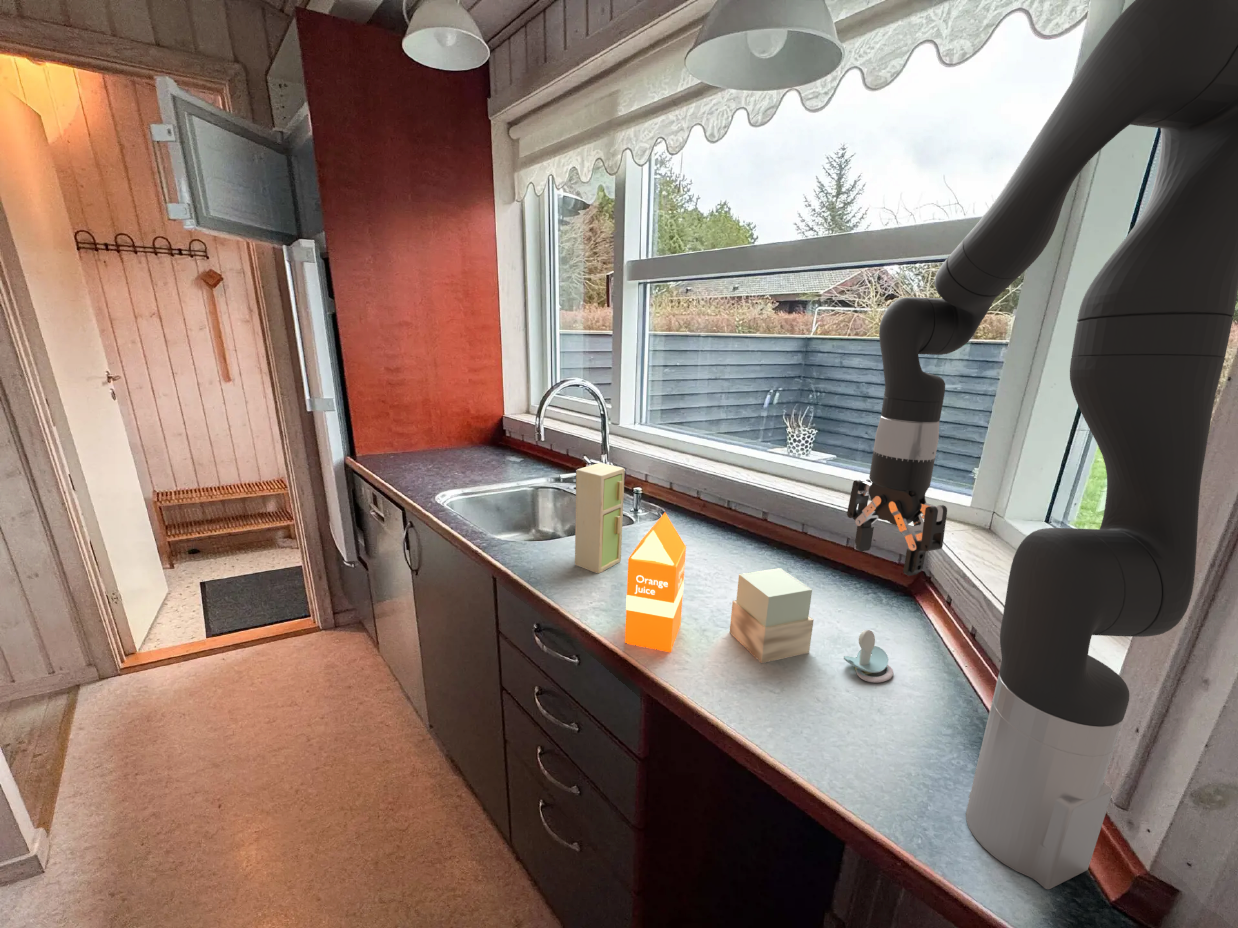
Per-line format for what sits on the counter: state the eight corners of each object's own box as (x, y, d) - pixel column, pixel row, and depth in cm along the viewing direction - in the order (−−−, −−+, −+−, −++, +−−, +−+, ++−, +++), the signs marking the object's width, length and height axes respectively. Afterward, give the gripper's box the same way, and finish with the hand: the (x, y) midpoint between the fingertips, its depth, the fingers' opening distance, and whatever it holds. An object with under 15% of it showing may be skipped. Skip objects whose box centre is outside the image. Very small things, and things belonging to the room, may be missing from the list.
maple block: (808, 653, 86) (813, 619, 84) (761, 664, 83) (765, 629, 81) (774, 624, 94) (777, 593, 92) (729, 633, 91) (732, 600, 89)
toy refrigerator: (601, 575, 110) (603, 475, 104) (573, 565, 114) (575, 469, 109) (624, 562, 116) (628, 468, 111) (597, 553, 120) (600, 462, 115)
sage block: (808, 618, 85) (812, 589, 83) (765, 626, 82) (768, 597, 81) (776, 594, 92) (779, 567, 91) (736, 601, 89) (738, 574, 88)
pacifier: (901, 676, 81) (866, 654, 86) (910, 639, 79) (873, 619, 84) (871, 691, 77) (836, 667, 82) (879, 653, 76) (843, 631, 81)
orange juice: (681, 624, 93) (689, 514, 88) (671, 652, 84) (679, 533, 79) (637, 616, 95) (642, 508, 90) (623, 643, 87) (628, 526, 82)
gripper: (973, 462, 68) (949, 579, 72) (883, 439, 81) (867, 540, 85) (929, 465, 66) (907, 587, 70) (843, 441, 79) (829, 545, 83)
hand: (885, 561), depth 77 cm, fingers open, 8 cm apart
